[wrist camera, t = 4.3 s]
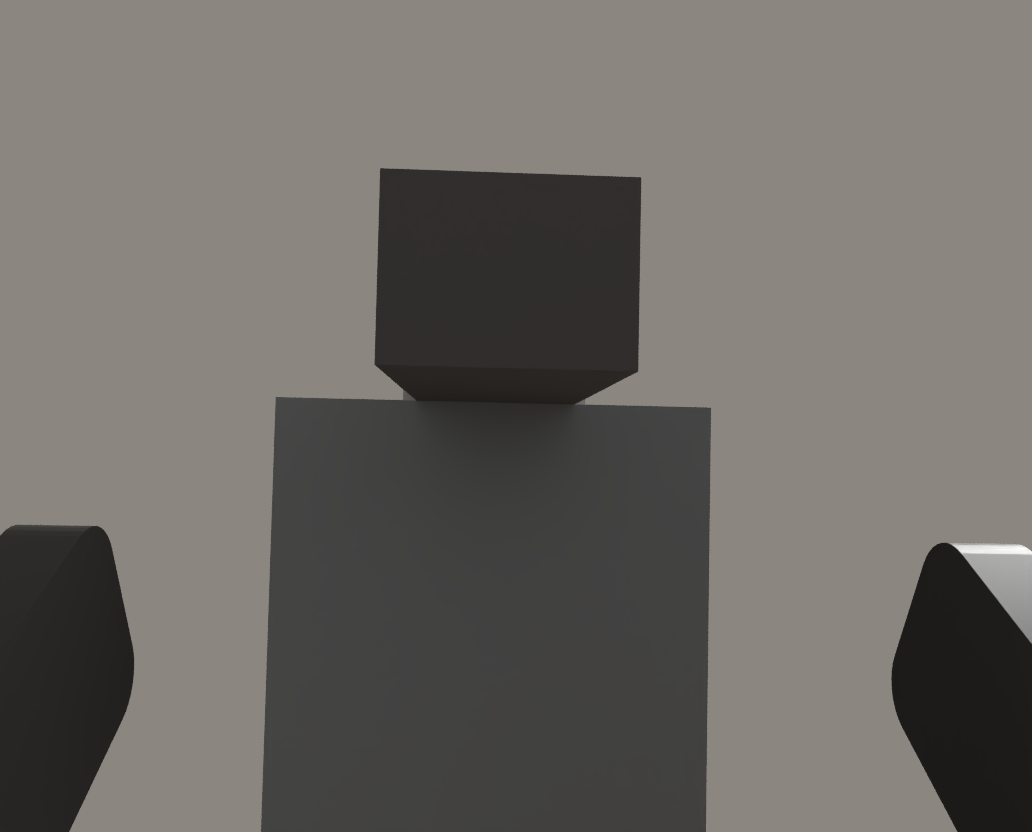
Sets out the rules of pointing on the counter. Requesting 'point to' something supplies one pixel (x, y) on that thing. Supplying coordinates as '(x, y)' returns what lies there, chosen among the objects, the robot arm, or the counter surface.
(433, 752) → the grey rectangular pillar
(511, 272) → the block
